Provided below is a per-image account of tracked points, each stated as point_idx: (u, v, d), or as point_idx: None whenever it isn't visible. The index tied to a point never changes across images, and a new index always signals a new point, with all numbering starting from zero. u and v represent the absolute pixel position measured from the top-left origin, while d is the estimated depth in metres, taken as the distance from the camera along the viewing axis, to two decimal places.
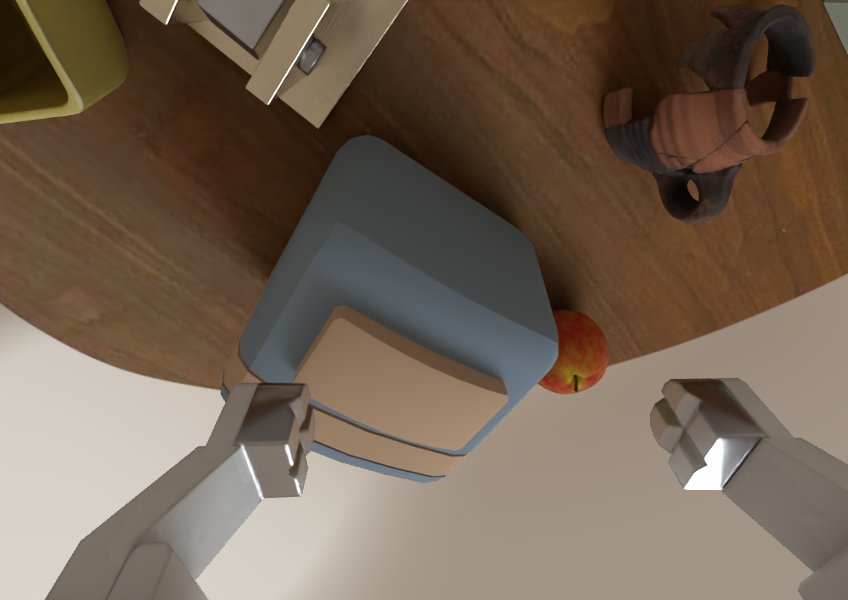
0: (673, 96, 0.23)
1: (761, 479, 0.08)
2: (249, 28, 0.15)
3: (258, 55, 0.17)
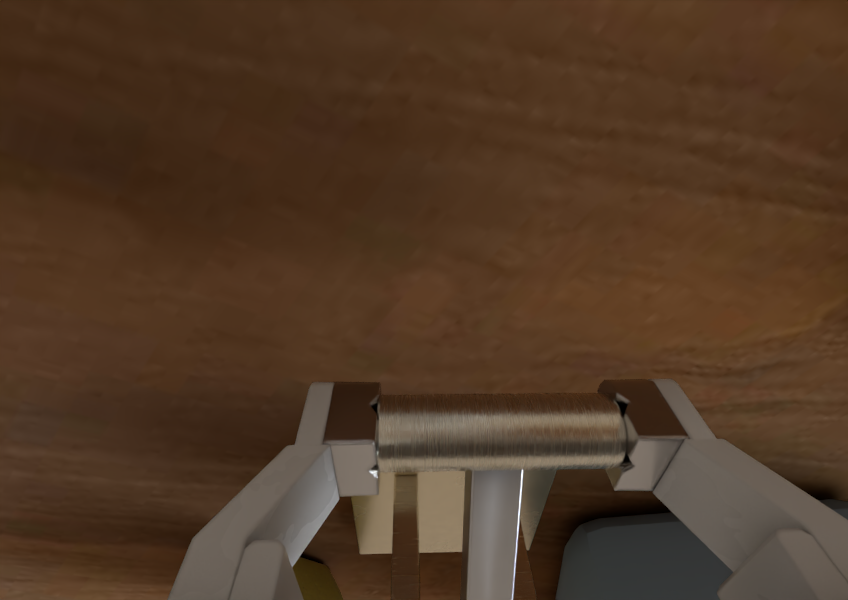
0: None
1: (685, 480, 0.08)
2: None
3: None
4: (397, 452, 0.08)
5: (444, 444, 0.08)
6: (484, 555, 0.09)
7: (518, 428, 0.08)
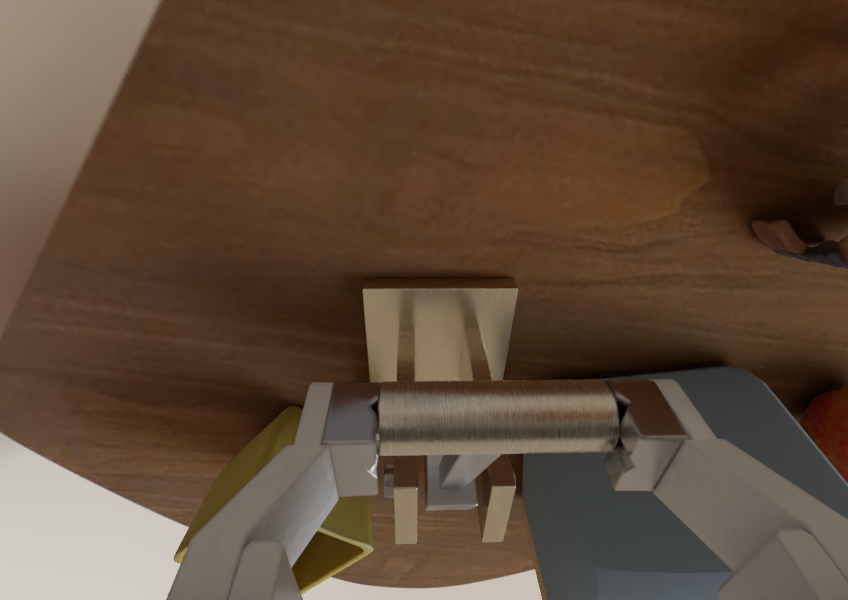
0: None
1: (686, 480, 0.08)
2: (462, 509, 0.20)
3: None
4: (398, 454, 0.09)
5: (442, 452, 0.09)
6: (470, 460, 0.12)
7: (514, 440, 0.09)
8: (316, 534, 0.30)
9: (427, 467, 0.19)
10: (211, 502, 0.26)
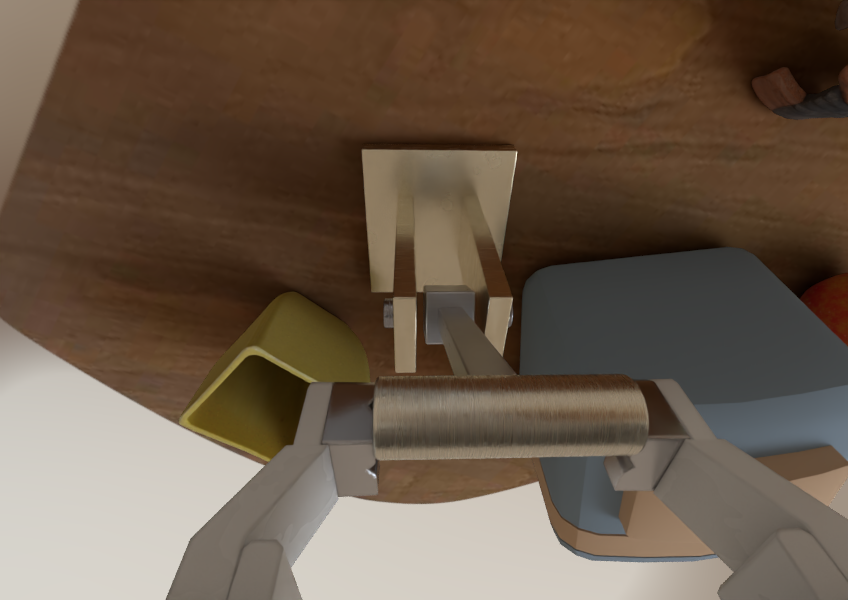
0: None
1: (686, 480, 0.08)
2: None
3: None
4: None
5: None
6: None
7: None
8: None
9: (426, 309, 0.19)
10: (214, 371, 0.27)
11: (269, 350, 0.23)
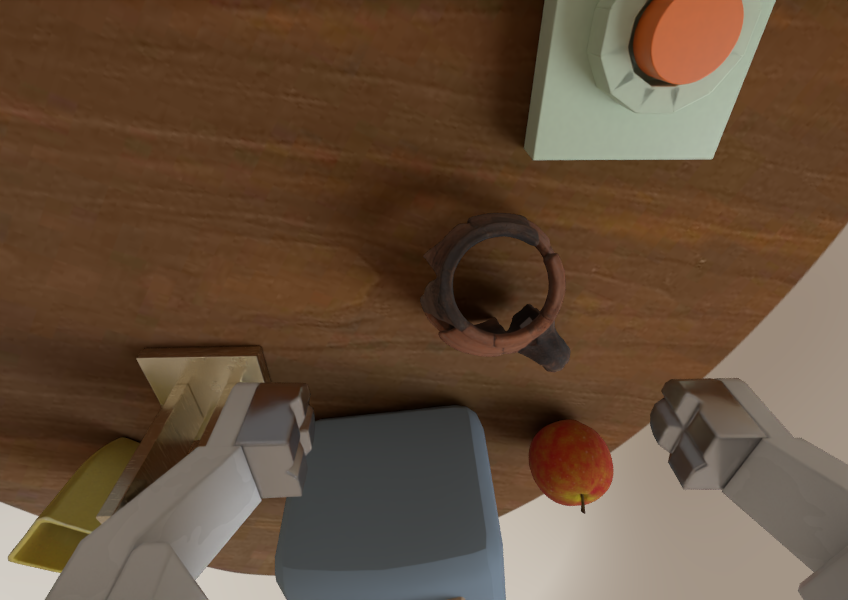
0: (440, 335, 0.26)
1: (761, 479, 0.08)
2: None
3: None
4: None
5: None
6: None
7: None
8: None
9: None
10: None
11: (59, 517, 0.31)
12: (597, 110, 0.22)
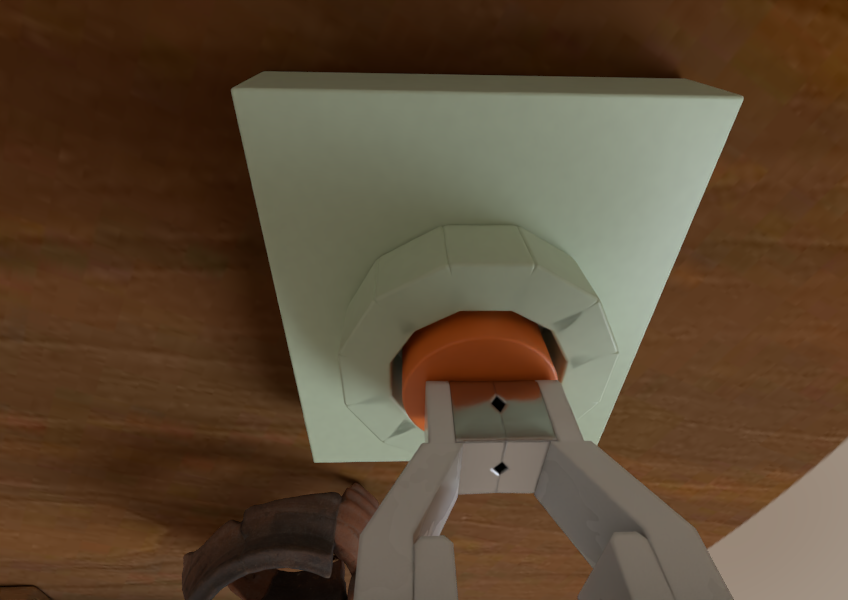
0: None
1: (555, 483, 0.08)
2: None
3: None
4: None
5: None
6: None
7: None
8: None
9: None
10: None
11: None
12: None
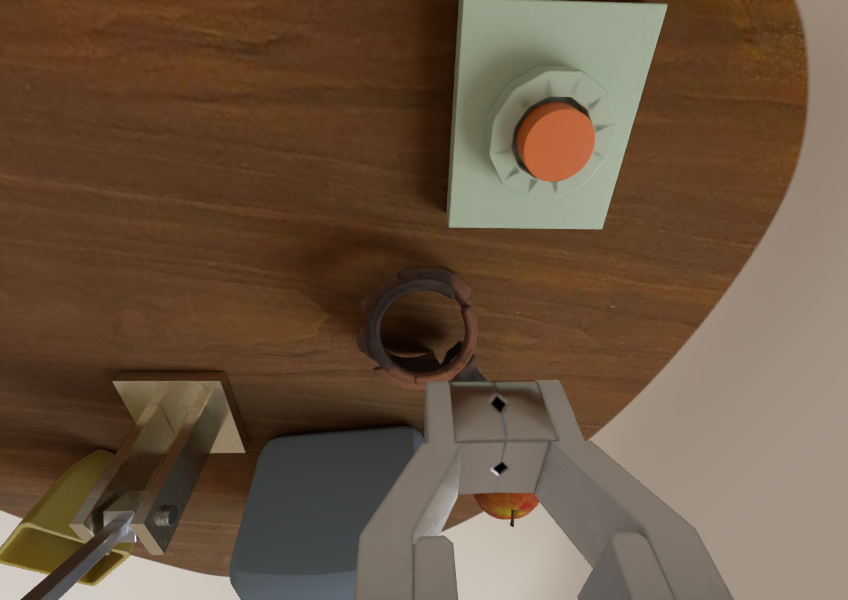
0: (374, 371, 0.30)
1: (555, 483, 0.08)
2: None
3: None
4: None
5: None
6: None
7: None
8: None
9: (104, 522, 0.30)
10: None
11: (39, 522, 0.34)
12: (499, 190, 0.26)
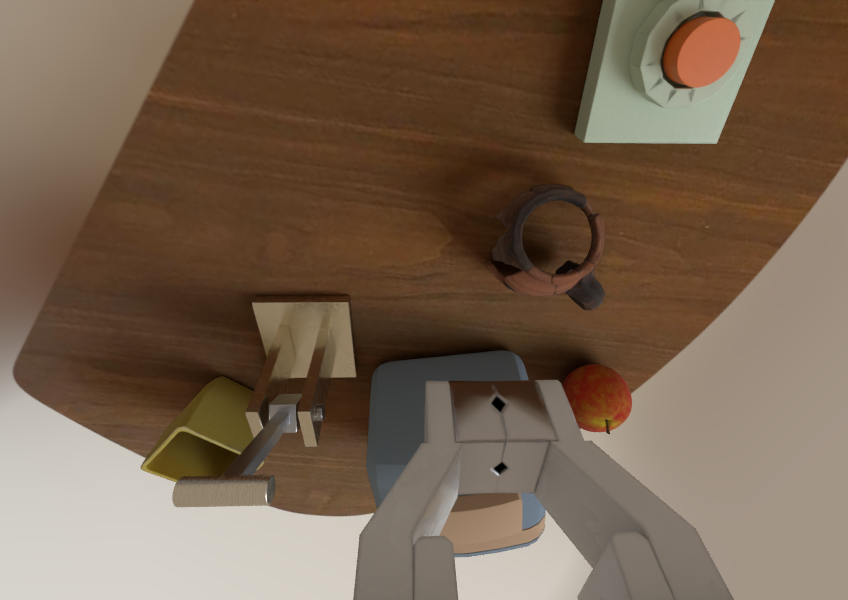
0: (506, 278, 0.34)
1: (555, 483, 0.08)
2: None
3: None
4: None
5: None
6: None
7: (228, 505, 0.23)
8: None
9: (269, 414, 0.34)
10: (164, 435, 0.42)
11: (192, 428, 0.38)
12: (633, 105, 0.30)
